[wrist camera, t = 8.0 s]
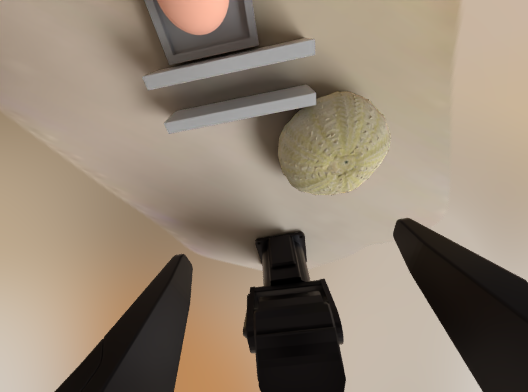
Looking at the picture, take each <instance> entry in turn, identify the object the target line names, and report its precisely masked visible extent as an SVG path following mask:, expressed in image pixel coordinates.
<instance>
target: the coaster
mask: <svg viewBox="0 0 528 392" xmlns="http://www.w3.org/2000/svg"><path fill="white" fill-rule="evenodd" d="M144 1H145V4H146V6H147V9H148V11H149V14H150V17H151V19H152V22H153V24H154V27H155V29H156V32H157V34H158V37H159V40H160V42H161V45H162V47H163V50H164V52H165V55H166V58H167V60H168V63H169V65H172V64H177V63H181V62H186V61H190V60H195V59H199V58H204V57H208V56H213V55H218V54H222V53H227V52H231V51H236V50H240V49H245V48H249V47H254V46H258V45H259V41H258V34H257V28H256V22H255V15H254V9H253V2H252V0H229V5H228V10H227V13H226V16H225V18H224V20H223V22H222V23H221V24H220V26H219V27H218V28H217V29H215V30H214V31H212V32H211V33H208V34H205V35H193V34H190V33H187V32H185V31H183V30H181V29H179V28H178V27H177V26H175V25H174V24H173V23H172V22H171V21H170V20H169V19H168V17H167V16H166V15H165V14H164V12H163V10H162V9H161V7H160V5H159V3H158V1H157V0H144Z"/></svg>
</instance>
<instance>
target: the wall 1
mask: <svg viewBox="0 0 528 392" xmlns="http://www.w3.org/2000/svg"><path fill="white" fill-rule="evenodd" d="M312 55H315V39H309V38H303V39H298V40H294V41H289V42H284V43H280V44H275V45H271V46H266V47H262V48H257V49H252V50H248V51H243V52H239V53H234V54H230V55H225V56H221V57H216V58H211V59H207V60H202V61H198V62H193V63H189V64H184V65H180V66H175V67H170V68H166V69H161V70H157V71H155V72H153V73H150V74H148V75H145V76H143V77H142V78H143V81H144V83H145V85H146V87H147V89H148V90H153V89H157V88H162V87H167V86H172V85H176V84H181V83H186V82H190V81H195V80H200V79H204V78H209V77H214V76H218V75H223V74H228V73H233V72H237V71H242V70H247V69H251V68H256V67H261V66H265V65H270V64H275V63H279V62H284V61H289V60H294V59H298V58H303V57H308V56H312Z"/></svg>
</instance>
